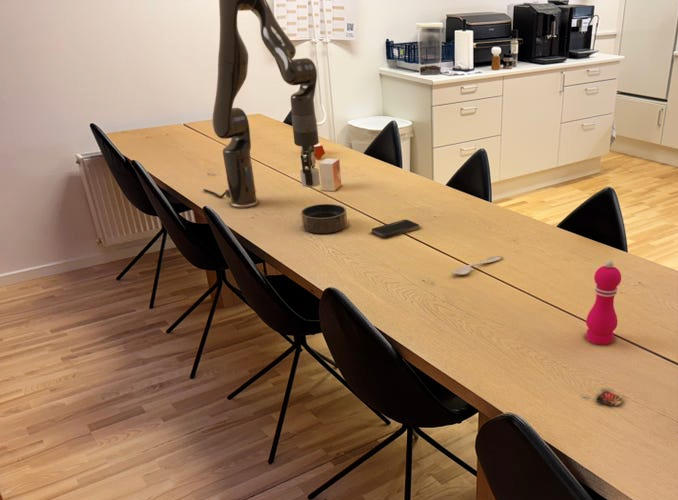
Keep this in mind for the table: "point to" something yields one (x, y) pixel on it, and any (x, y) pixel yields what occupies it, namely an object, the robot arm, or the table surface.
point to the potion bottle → (317, 150)
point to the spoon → (467, 268)
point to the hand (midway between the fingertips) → (310, 182)
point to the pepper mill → (603, 305)
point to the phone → (395, 228)
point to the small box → (330, 174)
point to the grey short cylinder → (314, 175)
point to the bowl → (324, 218)
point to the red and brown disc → (609, 398)
